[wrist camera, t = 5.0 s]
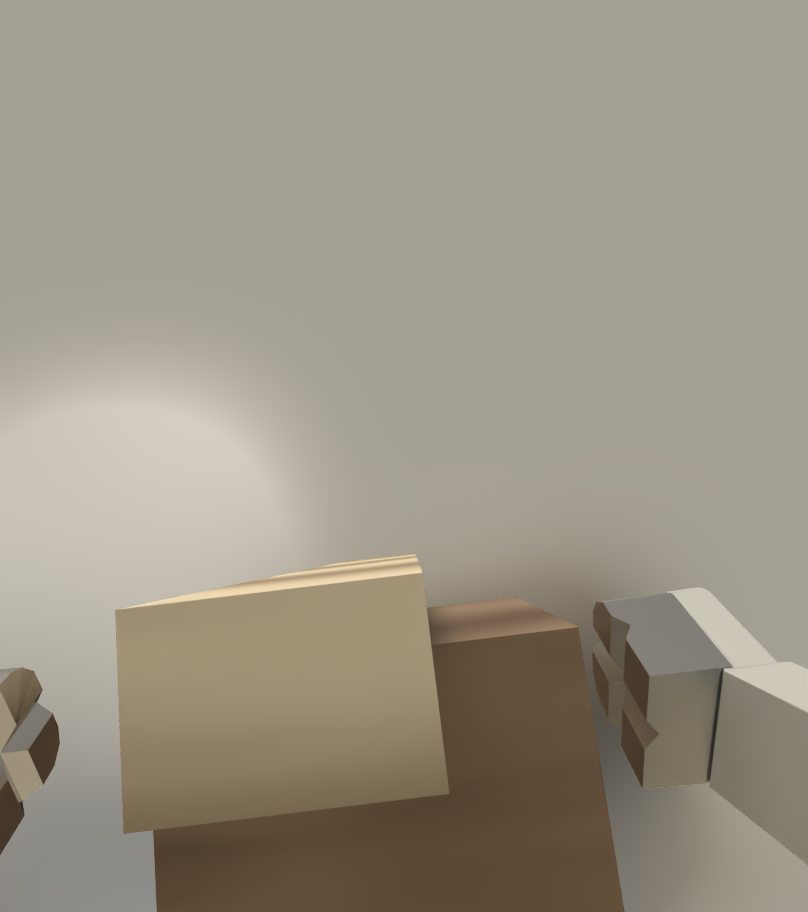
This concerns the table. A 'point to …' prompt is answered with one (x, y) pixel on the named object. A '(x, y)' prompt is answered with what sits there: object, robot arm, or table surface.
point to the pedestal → (441, 800)
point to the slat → (279, 697)
